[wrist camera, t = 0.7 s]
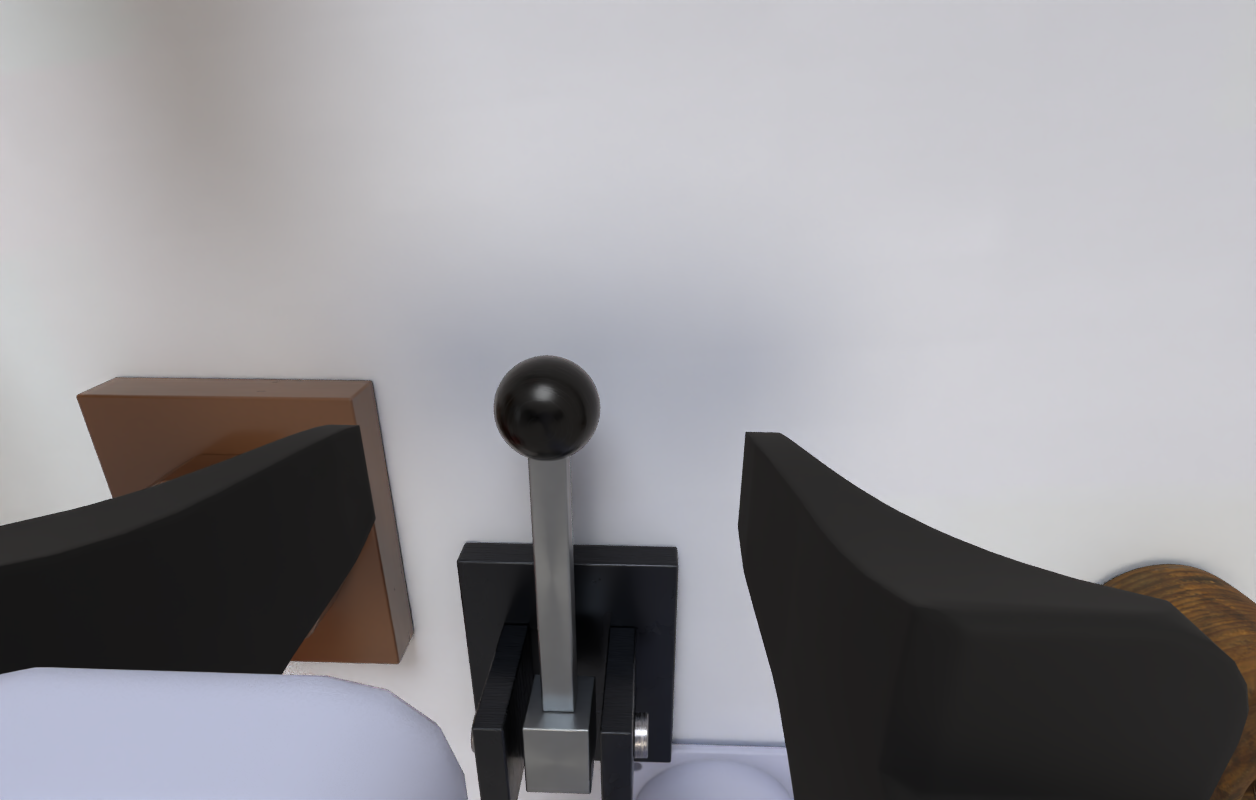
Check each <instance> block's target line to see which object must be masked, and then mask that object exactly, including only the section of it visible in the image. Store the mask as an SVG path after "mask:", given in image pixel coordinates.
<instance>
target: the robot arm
mask: <svg viewBox="0 0 1256 800" xmlns="http://www.w3.org/2000/svg"><path fill="white" fill-rule="evenodd" d="M375 520H376V516H375V511H374V505H373V499H372V494H371V488H370V482H369V476H368V471H367V465H366V459H365V454H364V448H363V442H362V436H361V431H360V425H323V426H319V427H315V428H311V429H308V430H305V431H302V432H299V433H296V434H293V435H290V436H287V437H285V438H282V439H279V440H277V441H274V442H271V443H269V444H266V445H263V446H261V447H258V448H256V449H253V450H251V451H248V452H245V453H243V454H240V455H238V456H235V457H232V458H230V459H227V460H225V461H222V462H219V463H217V464H214V465H211V466H208V467H205V468H203V469H200V470H197V471H194V472H192V473H189V474H186V475H183V476H180V477H178V478H175V479H172V480H169V481H166V482H164V483H161V484H158V485H155V486H152V487H149V488H145V489H142V490H139V491H136V492H133V493H129V494H126V495H123V496H119V497H116V498H112V499H109V500H105V501H102V502H98V503H95V504H91V505H87V506H84V507H80V508H76V509H72V510H68V511H63V512H59V513H55V514H50V515H46V516H42V517H37V518H33V519H28V520H24V521H20V522H15V523H11V524H7V525H2V526H0V800H468V797H467V790H466V783H465V775H464V773H463V771H462V769H461V767H460V765H459V763H458V761H457V759H456V757H455V755H454V753H453V751H452V749H451V747H450V746H449V744H448V742H447V740H446V738H445V736H444V734H443V732H442V730H441V728H440V727H439V726H438V725H437V724H436V723H435V722H434V721H432V720H431V719H429V718H428V717H427V716H425V715H424V714H422V713H421V712H419V711H418V710H416V709H415V708H414V707H412V706H411V705H409V704H408V703H406V702H405V701H403V700H402V699H401V698H399V697H398V696H396V695H395V694H393V693H392V692H390V691H389V690H387V689H383V688H379V687H374V686H370V685H365V684H361V683H356V682H352V681H348V680H343V679H339V678H334V677H330V676H314V675H282V673H283V671H284V670H285V668H286V667H287V665H288V663H289V662H290V660H291V659H292V657H293V656H294V654H295V653H296V651H297V650H298V648H299V647H300V645H301V644H302V642H303V641H304V639H305V638H306V636H307V635H308V633H309V632H310V630H311V629H312V628H313V626H314V625H315V623H316V622H317V620H318V619H319V617H320V616H321V614H322V613H323V611H324V610H325V608H326V607H327V605H328V604H329V602H330V601H331V599H332V598H333V596H334V595H335V593H336V592H337V590H338V589H339V587H340V586H341V584H342V583H343V581H344V580H345V578H346V577H347V575H348V574H349V572H350V571H351V569H352V567H353V566H354V564H355V563H356V561H357V559H358V557H359V555H360V553H361V551H362V549H363V547H364V544H365V542H366V540H367V538H368V536H369V533H370V531H371V529H372V526H373V524H374V522H375ZM738 531H739V539H740V548H741V555H742V562H743V569H744V574H745V578H746V582H747V586H748V589H749V593H750V596H751V600H752V604H753V607H754V611H755V615H756V618H757V622H758V625H759V629H760V632H761V636H762V640H763V643H764V647H765V650H766V654H767V657H768V661H769V665H770V668H771V672H772V675H773V680H774V684H775V688H776V693H777V697H778V702H779V708H780V714H781V720H782V726H783V732H784V738H785V744H786V747H761V746H729V745H697V744H672V754H671V762H670V763H657V762H634V779H633V800H1210V798H1211V796H1212V794H1213V792H1214V790H1215V788H1216V786H1217V784H1218V782H1219V780H1220V778H1221V776H1222V774H1223V773H1224V771H1225V769H1226V767H1227V765H1228V763H1229V761H1230V759H1231V757H1232V755H1233V753H1234V751H1235V749H1236V747H1237V745H1238V743H1239V741H1240V738H1241V735H1242V732H1243V729H1244V726H1245V723H1246V720H1247V716H1248V712H1249V704H1248V690H1247V683H1246V682H1245V680H1244V678H1243V676H1242V674H1241V672H1240V670H1239V668H1238V667H1237V665H1236V663H1235V661H1234V660H1233V659H1232V658H1230V657H1229V656H1228V655H1227V654H1226V653H1225V652H1224V651H1223V650H1222V649H1221V648H1219V647H1218V646H1217V645H1216V644H1215V643H1214V642H1213V641H1212V640H1211V639H1210V638H1209V637H1207V636H1206V635H1205V634H1204V633H1203V632H1202V631H1201V630H1200V629H1199V628H1198V627H1196V626H1195V625H1194V624H1193V623H1192V622H1191V621H1190V620H1189V619H1188V618H1187V617H1186V616H1184V615H1183V614H1182V613H1181V612H1180V611H1179V610H1178V609H1177V608H1176V607H1175V606H1174V605H1172V604H1171V603H1170V602H1169V601H1167V600H1163V599H1159V598H1155V597H1150V596H1146V595H1142V594H1138V593H1133V592H1129V591H1125V590H1121V589H1117V588H1112V587H1108V586H1104V585H1100V584H1095V583H1091V582H1087V581H1083V580H1079V579H1075V578H1071V577H1068V576H1064V575H1061V574H1058V573H1054V572H1051V571H1048V570H1045V569H1041V568H1038V567H1035V566H1031V565H1028V564H1025V563H1022V562H1019V561H1016V560H1013V559H1010V558H1007V557H1004V556H1001V555H998V554H995V553H993V552H990V551H987V550H985V549H982V548H980V547H977V546H975V545H972V544H970V543H967V542H964V541H962V540H959V539H957V538H954V537H952V536H950V535H947V534H945V533H943V532H940V531H938V530H936V529H934V528H931V527H929V526H927V525H925V524H923V523H921V522H919V521H917V520H915V519H913V518H911V517H909V516H907V515H905V514H903V513H901V512H899V511H897V510H895V509H894V508H892V507H890V506H888V505H886V504H885V503H883V502H881V501H879V500H878V499H876V498H875V497H873V496H871V495H870V494H868V493H866V492H865V491H863V490H861V489H860V488H858V487H857V486H855V485H854V484H852V483H851V482H849V481H848V480H846V479H844V478H843V477H842V476H840V475H839V474H837V473H836V472H834V471H833V470H831V469H830V468H829V467H827V466H826V465H824V464H823V463H822V462H820V461H819V460H818V459H816V458H815V457H813V456H812V455H811V454H809V453H808V452H807V451H805V450H804V449H803V448H801V447H800V446H799V445H797V444H796V443H795V442H793V441H792V440H790V439H789V438H787V437H786V436H784V435H783V434H781V433H773V432H746V434H745V446H744V458H743V471H742V483H741V495H740V508H739V520H738Z"/></svg>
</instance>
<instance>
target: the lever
mask: <svg viewBox="0 0 1256 800" xmlns="http://www.w3.org/2000/svg"><path fill="white" fill-rule="evenodd" d="M599 417H600V399H599V395H598V392H597V389H596V386H595V384H594V383H593V381H592V379H591V378H590V376H589V375H588V374H587V373H586V372H585V371H584V370H583V369H582V368H581V367H580V366H578V365H577V364H575V363H574V362H572V361H570V360H567V359H565V358H562V357H557V356H549V355H545V356H537V357H533V358H530V359H527V360H524V361H522V362H520V363H519V364H517V365H516V366H514V367H513V368H512V369H511V370H510V371H509V372H508V373H507V374H506V375H505V376H504V378H503V379H502V381H501V382H500V384H499V387H498V389H497V391H496V395H495V399H494V418H495V422H496V425H497V428H498V430H499V433H500V434H501V436H502V438H503V439H504V440H505V442H506V443H507V444H508V445H509V446H510V447H511V448H512V449H514V450H515V451H516V452H518V453H519V454H521V455H523V456H525V457H527V458H528V467H529V484H530V502H531V520H532V537H533V555H534V573H535V591H536V608H537V626H538V644H539V662H540V675H535V676H534V679H533V683H532V688H531V692H530V696H529V700H528V705H527V709H526V713H525V717H524V722H523V726H522V738H523V752H524V766H525V780H526V791H527V792H547V793H577V794H590V793H591V787H592V777H593V767H594V757H595V747H596V737H597V729H596V679H595V676H577V650H576V618H575V587H574V556H573V524H572V493H571V462H570V456H571V455H573V454H575V453H576V452H578V451H579V450H580V449H582V448H583V447H584V446H585V445H586V444H587V443H588V441H589V440H590V439H591V437H592V436H593V434H594V432H595V430H596V428H597V425H598V422H599Z"/></svg>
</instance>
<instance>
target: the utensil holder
mask: <svg viewBox="0 0 1256 800" xmlns="http://www.w3.org/2000/svg"><path fill="white" fill-rule="evenodd" d="M1104 586H1108V587H1112V588H1117V589H1121V590H1125V591H1129V592H1133V593H1138V594H1142V595H1146V596H1150V597H1155V598H1159V599H1163V600H1167V601H1169V602H1170V603H1171V604H1172V605H1174V606H1175V607H1176V608H1177V609H1178V610H1179V611H1180V612H1181V613H1182V614H1183V615H1184V616H1186V617H1187V618H1188V619H1189V620H1190V621H1191V622H1192V623H1193V624H1194V625H1195V626H1196V627H1198V628H1199V629H1200V630H1201V631H1202V632H1203V633H1204V634H1205V635H1206V636H1207V637H1209V638H1210V639H1211V640H1212V641H1213V642H1214V643H1215V644H1216V645H1217V646H1218V647H1219V648H1221V649H1222V650H1223V651H1224V652H1225V653H1226V654H1227V655H1228V656H1229V657H1230V658H1232V659H1233V660H1234V661H1235V663H1236V665H1237V667H1238V668H1239V670H1240V672H1241V674H1242V676H1243V678H1244V680H1245V682H1246V683H1247V690H1248V704H1249V712H1248V716H1247V720H1246V723H1245V726H1244V729H1243V732H1242V735H1241V738H1240V741H1239V743H1238V745H1237V747H1236V749H1235V751H1234V753H1233V755H1232V757H1231V759H1230V761H1229V763H1228V765H1227V767H1226V769H1225V771H1224V773H1223V774H1222V776H1221V778H1220V780H1219V782H1218V784H1217V786H1216V788H1215V790H1214V792H1213V794H1212V796H1211V798H1210V800H1256V603H1254V602H1253V601H1252V600H1250V599H1249V598H1248V597H1246V596H1245V595H1244V594H1242V593H1241V592H1239V591H1238V590H1237V589H1235V588H1234V587H1232V586H1231V585H1229V584H1228V583H1226V582H1225V581H1223V580H1221V579H1220V578H1218V577H1216V576H1214V575H1212V574H1210V573H1208V572H1206V571H1203V570H1201V569H1198V568H1194V567H1190V566H1185V565H1176V564H1161V565H1152V566H1146V567H1142V568H1138V569H1135V570H1132V571H1129V572H1126V573H1124V574H1122V575H1119V576H1117V577H1115V578H1113V579H1112V580H1110V581H1108V582H1107V583H1105V584H1104Z"/></svg>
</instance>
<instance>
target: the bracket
mask: <svg viewBox="0 0 1256 800" xmlns="http://www.w3.org/2000/svg"><path fill="white" fill-rule="evenodd" d="M573 556H574V587H575V618H576V650H577V676H595V679H596V729H597V737H596V747H595V757H594V760H596V761H601V798H602V800H633V779H634V762H657V763H670V762H671V754H672V727H673V699H674V671H675V643H676V615H677V587H678V554H677V548H676V547H651V546H604V545H573ZM457 567H458V575H459V583H460V591H461V599H462V607H463V615H464V623H465V631H466V639H467V647H468V655H469V663H470V671H471V679H472V687H473V695H474V703H475V710H476V713H475V716H474V720H473V724H472V731H471V747H472V751H473V752H474V753H475V758H476V766H477V774H478V781H479V789H480V797H481V800H517V799H518V794H519V789H520V785H521V780H522V775H523V770H524V752H523V738H522V726H523V722H524V717H525V713H526V709H527V705H528V700H529V696H530V692H531V688H532V683H533V679H534V676H535V675H540V662H539V644H538V626H537V608H536V591H535V573H534V555H533V544H508V543H465V545H464V547H463V549H462V551H461V553H460V556H459V558H458V560H457Z"/></svg>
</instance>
